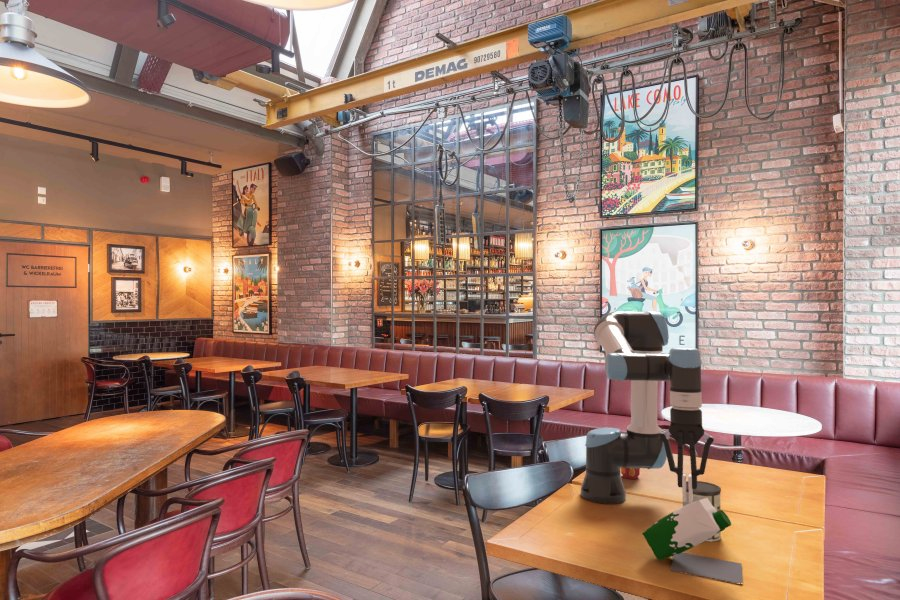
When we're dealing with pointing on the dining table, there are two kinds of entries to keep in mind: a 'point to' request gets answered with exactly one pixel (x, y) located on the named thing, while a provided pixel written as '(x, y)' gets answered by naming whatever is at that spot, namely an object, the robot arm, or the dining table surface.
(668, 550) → the soya milk
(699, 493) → the coffee can
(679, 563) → the mat
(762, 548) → the dining table surface
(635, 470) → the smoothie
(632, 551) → the dining table surface
